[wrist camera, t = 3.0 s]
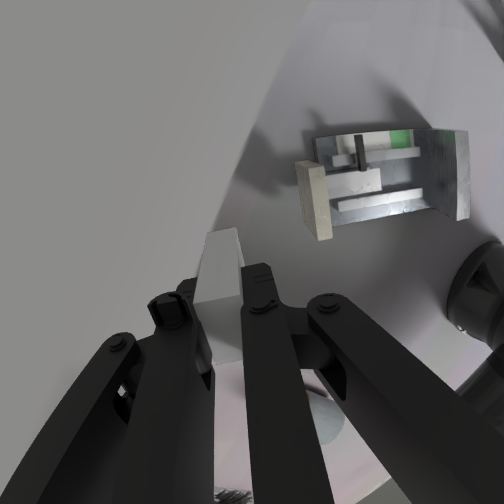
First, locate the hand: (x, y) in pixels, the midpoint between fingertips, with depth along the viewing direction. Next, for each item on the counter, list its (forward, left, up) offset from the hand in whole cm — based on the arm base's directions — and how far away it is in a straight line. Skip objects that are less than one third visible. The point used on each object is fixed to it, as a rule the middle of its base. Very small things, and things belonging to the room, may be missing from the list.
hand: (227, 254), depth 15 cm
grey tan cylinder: (-3, +33, -15) cm, 36 cm away
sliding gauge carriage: (-10, -1, -13) cm, 16 cm away
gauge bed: (-16, 0, -14) cm, 22 cm away
